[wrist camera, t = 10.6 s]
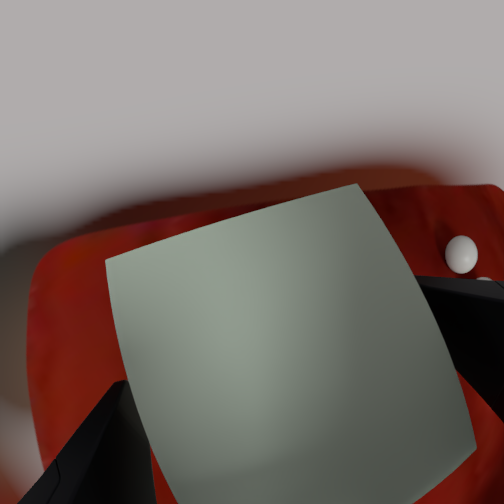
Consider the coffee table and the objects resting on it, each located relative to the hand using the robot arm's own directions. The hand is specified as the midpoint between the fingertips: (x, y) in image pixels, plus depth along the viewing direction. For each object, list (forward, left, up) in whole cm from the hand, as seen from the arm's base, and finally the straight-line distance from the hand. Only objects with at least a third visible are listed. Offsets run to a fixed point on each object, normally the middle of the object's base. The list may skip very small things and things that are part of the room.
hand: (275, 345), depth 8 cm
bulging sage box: (-1, +1, -8) cm, 8 cm away
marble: (-10, -14, -8) cm, 19 cm away
